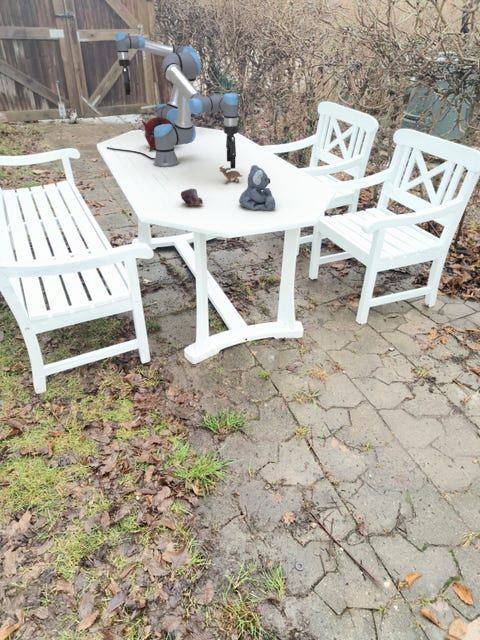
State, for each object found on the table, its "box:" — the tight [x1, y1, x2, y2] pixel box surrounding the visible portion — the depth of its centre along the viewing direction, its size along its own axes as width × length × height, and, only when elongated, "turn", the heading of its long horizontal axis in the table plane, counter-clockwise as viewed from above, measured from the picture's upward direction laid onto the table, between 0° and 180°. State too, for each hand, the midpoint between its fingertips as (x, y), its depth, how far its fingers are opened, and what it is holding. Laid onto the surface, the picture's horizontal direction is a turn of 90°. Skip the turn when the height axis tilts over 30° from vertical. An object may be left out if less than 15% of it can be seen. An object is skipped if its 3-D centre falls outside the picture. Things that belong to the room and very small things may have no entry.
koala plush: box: [238, 164, 276, 211], centre depth 224 cm, size 17×18×20 cm
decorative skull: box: [141, 116, 174, 152], centre depth 324 cm, size 21×24×25 cm
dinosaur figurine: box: [219, 165, 243, 185], centre depth 259 cm, size 14×6×9 cm, turn 98°
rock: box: [180, 188, 204, 207], centre depth 229 cm, size 12×9×10 cm
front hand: (231, 164), depth 257 cm, fingers open, 13 cm apart
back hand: (128, 93), depth 321 cm, fingers open, 13 cm apart
